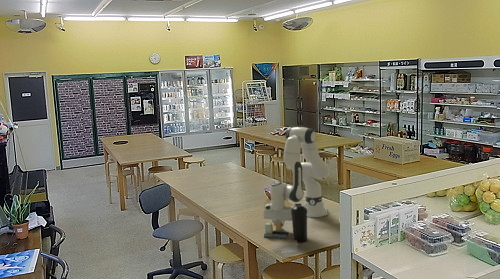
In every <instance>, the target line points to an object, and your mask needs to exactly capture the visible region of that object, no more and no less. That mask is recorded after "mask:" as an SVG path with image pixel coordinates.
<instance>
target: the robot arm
mask: <svg viewBox="0 0 500 279" xmlns="http://www.w3.org/2000/svg"><path fill="white" fill-rule="evenodd" d="M285 138H286V141H285V144H284V149H283V156H282V157H283V163H284V165H286V166H287V167H288V168H289V169H290V170H291V171H292V174H293V178H292V179H293V183H292V184H293V185H292V184H290V183H289V184H288V183H285V182H282V181H278V180H277V181H273V182H272V183H271V184H270V189H269V190H270V202H269V203H267V204H265V205H264V206H263V207H264V210H263V218H264V219H265V220H271V221H272V224H273V227H276V223H275V220H282V224H281V226H283V227H284V226H285V222H286V221H287V222H292V214H291V210H292V208H293V207H291V206H287V205H285V200H288V201H289V200H290V201H292V202H293V203H298V202H300V201H302V200H303V198H304V195H305V201H304V203H303V206H304V207H305V208H306V209H307V218H320V217H324V216H327V215H328V211H327V210H328V209H327V207H325V204H324V201H323V195H322V186H321V184H320V183H319V182H317V181H316V180H315V179H325V178H328V177H329V176H330V174H331V167H330V165H329V164H328V163H326V162H325V161H324V160H323V159H322V157H321V156H320V154H319V149H318V143H317V132H316V130H315V129H314V128H309V127H305V126H288V127H287V129H286V130H285ZM301 154H302V157H303V158H304V160H306V161H304V162H303V161H302V162H301ZM307 161H308V162H307ZM303 183H304V186H305V187H304V188H305V194H304V188H303Z"/></svg>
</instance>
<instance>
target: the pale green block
mask: <svg viewBox="0 0 500 279" xmlns="http://www.w3.org/2000/svg"><path fill="white" fill-rule="evenodd" d="M275 223H276V226H275V231H283V227H284V226H281V224H282V223H283V221H282V220H275Z"/></svg>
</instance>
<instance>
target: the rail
mask: <svg viewBox="0 0 500 279" xmlns="http://www.w3.org/2000/svg"><path fill="white" fill-rule="evenodd" d="M289 236H290V231H283V230H281V231H279V230H273V234H266V233H263V239H268V240H269V239H272V240H273V239H274V240H284V241H285V240H286V241H287V239H288V237H289Z"/></svg>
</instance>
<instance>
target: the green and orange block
mask: <svg viewBox="0 0 500 279" xmlns="http://www.w3.org/2000/svg"><path fill="white" fill-rule="evenodd" d="M264 231H265V233H264V234H273V231H274V224H273V222H265V224H264Z"/></svg>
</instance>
